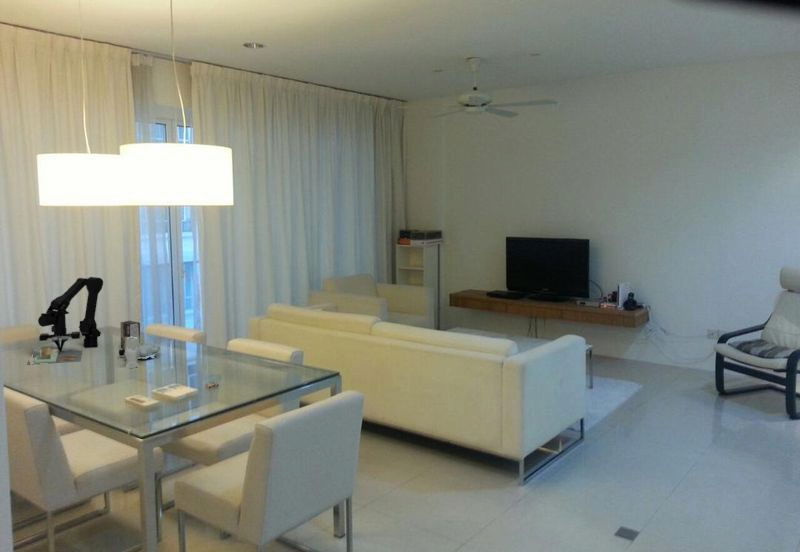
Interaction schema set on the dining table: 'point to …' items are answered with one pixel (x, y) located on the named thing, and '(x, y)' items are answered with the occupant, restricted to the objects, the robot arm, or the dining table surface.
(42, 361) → the tray
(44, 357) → the dowel
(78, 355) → the mat
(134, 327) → the coffee box
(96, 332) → the robot arm
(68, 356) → the socket
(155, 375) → the dining table surface
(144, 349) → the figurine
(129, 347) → the beer glass
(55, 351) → the beige slab
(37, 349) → the bench stop
